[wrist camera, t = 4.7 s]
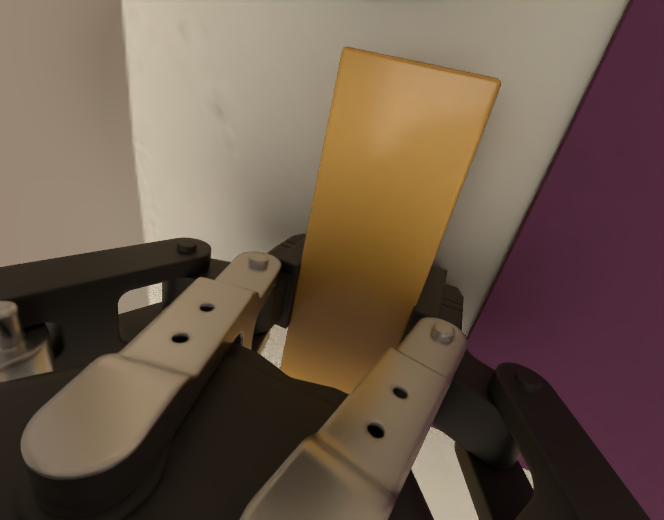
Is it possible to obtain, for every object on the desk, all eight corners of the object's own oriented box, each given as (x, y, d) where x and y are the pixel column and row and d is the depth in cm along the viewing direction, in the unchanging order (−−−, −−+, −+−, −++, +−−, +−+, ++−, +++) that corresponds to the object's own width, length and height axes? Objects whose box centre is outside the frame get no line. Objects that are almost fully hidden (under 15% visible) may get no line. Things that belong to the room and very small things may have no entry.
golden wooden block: (381, 66, 11) (341, 45, 8) (493, 91, 10) (503, 78, 7) (306, 374, 17) (265, 438, 13) (374, 405, 16) (349, 481, 13)
